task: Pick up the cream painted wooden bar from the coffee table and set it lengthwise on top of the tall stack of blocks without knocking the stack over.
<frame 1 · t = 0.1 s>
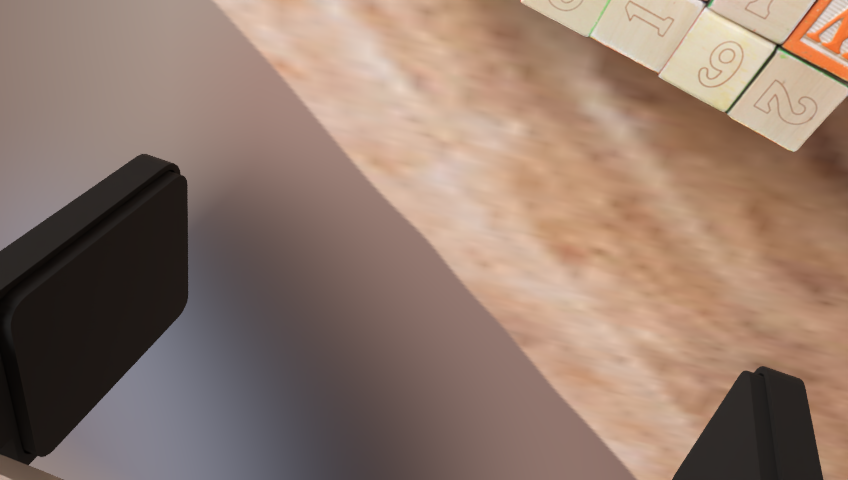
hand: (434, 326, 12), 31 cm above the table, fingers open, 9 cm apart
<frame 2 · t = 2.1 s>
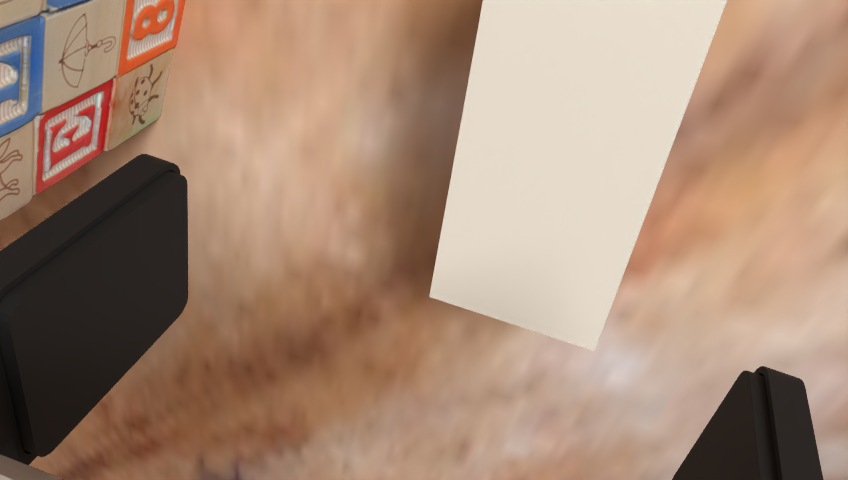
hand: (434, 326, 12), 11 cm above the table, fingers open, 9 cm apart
cream bar block: (583, 97, 20), on the table
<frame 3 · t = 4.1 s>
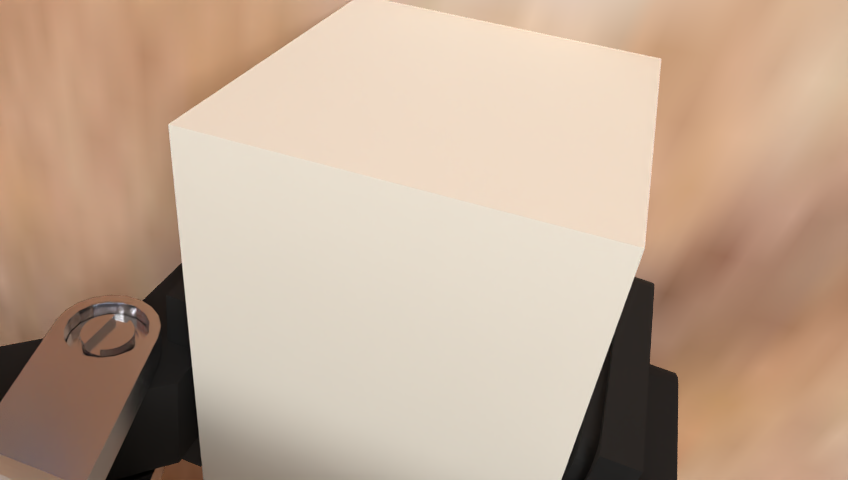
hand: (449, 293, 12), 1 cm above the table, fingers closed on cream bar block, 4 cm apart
cream bar block: (460, 270, 13), on the table, touching gripper
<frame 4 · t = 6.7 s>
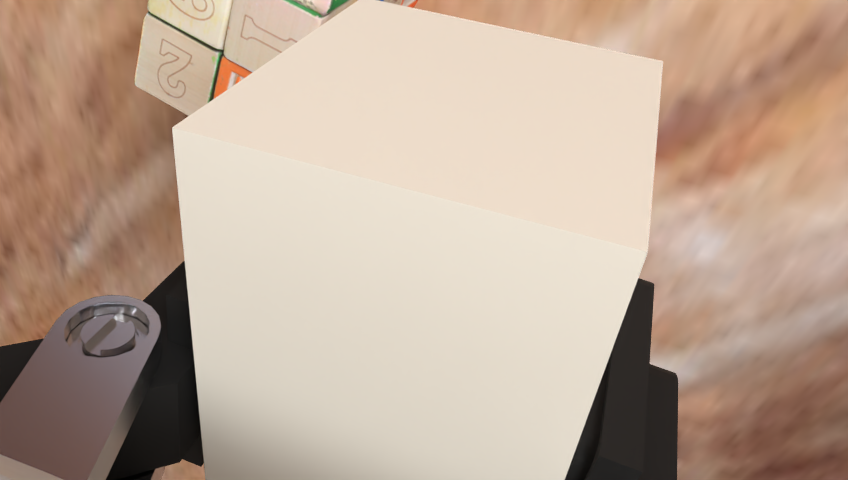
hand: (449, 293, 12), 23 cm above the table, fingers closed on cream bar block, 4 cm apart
cream bar block: (462, 271, 13), point 22 cm above the table, touching gripper
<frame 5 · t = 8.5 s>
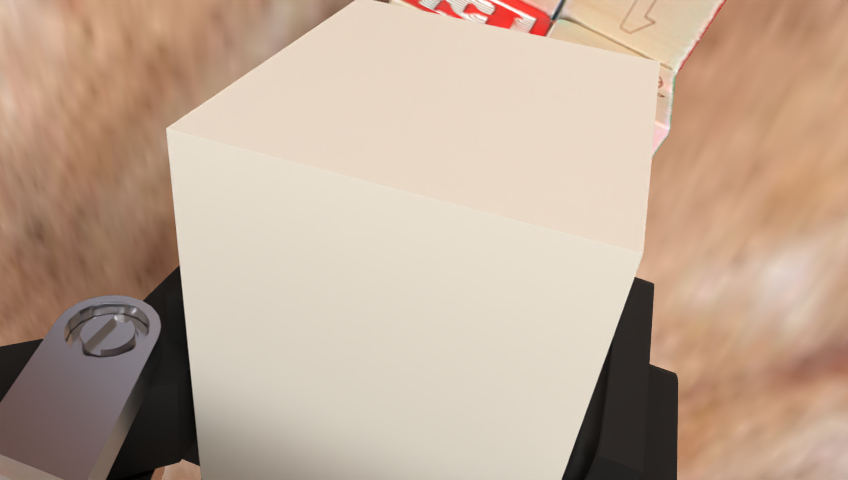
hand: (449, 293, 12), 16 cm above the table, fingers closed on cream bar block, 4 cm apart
cream bar block: (459, 272, 13), point 15 cm above the table, touching gripper
when the fingers open (14 cm above the table, at t = 9.6 s): cream bar block moves 1 cm, resting on stack of blocks.
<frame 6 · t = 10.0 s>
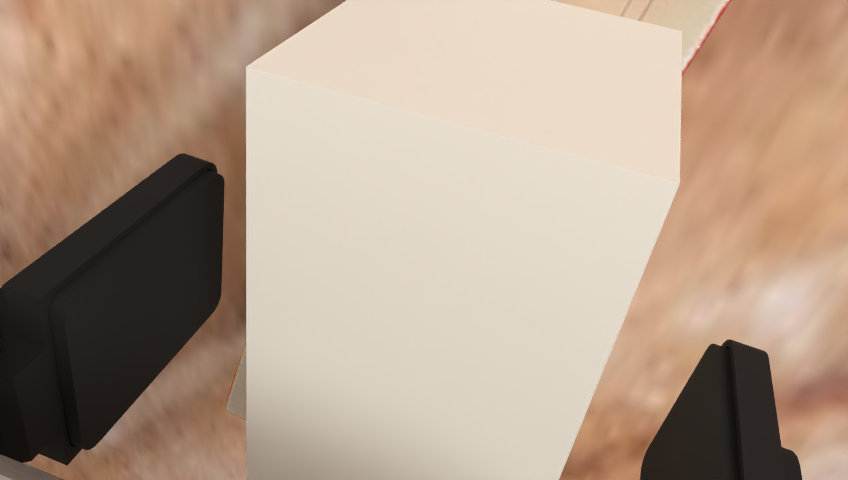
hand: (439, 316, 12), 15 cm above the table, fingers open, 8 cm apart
cream bar block: (481, 232, 14), point 12 cm above the table, touching stack of blocks
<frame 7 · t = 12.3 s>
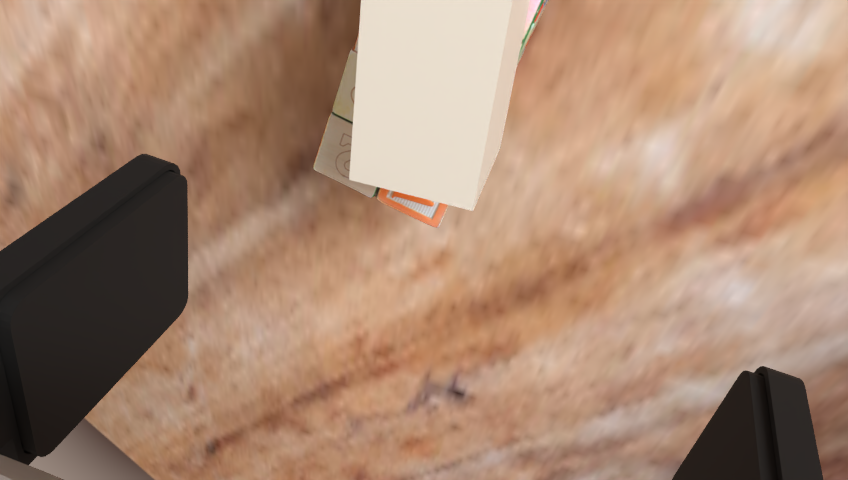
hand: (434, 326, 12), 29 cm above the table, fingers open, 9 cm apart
cream bar block: (462, 25, 26), point 12 cm above the table, touching stack of blocks
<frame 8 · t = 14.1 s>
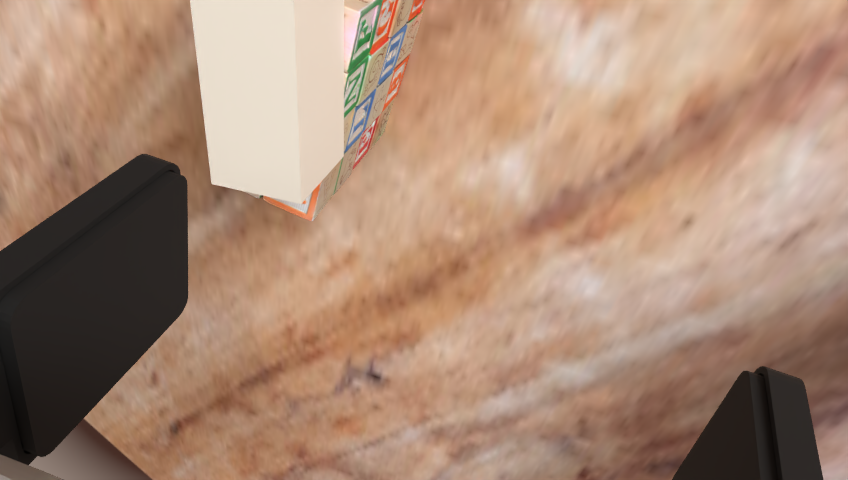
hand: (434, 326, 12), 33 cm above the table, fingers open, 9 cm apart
cream bar block: (299, 62, 34), point 12 cm above the table, touching stack of blocks
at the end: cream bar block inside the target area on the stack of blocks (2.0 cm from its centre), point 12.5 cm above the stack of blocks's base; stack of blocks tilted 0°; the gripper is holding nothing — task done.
